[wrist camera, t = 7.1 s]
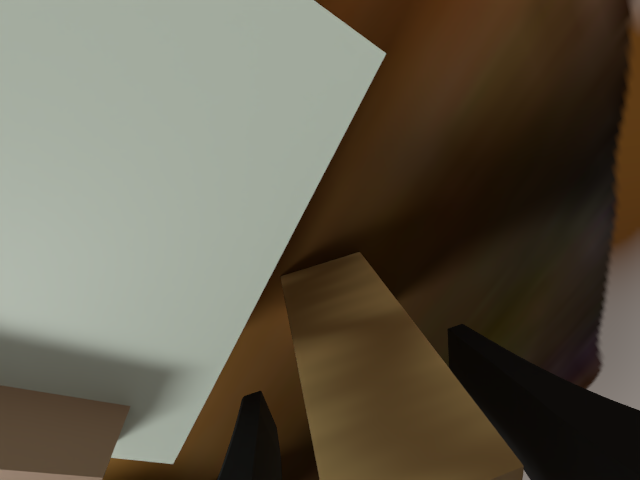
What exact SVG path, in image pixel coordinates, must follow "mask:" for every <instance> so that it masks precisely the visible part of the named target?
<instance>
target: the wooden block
mask: <svg viewBox="0 0 640 480" xmlns="http://www.w3.org/2000/svg"><path fill="white" fill-rule="evenodd" d="M280 278H281V283H282V288H283V293H284V298H285V303H286V309H287V314H288V319H289V324H290V329H291V334H292V339H293V345H294V350H295V355H296V360H297V365H298V370H299V376H300V381H301V386H302V391H303V396H304V401H305V406H306V412H307V417H308V422H309V427H310V432H311V437H312V442H313V448H314V453H315V458H316V463H317V468H318V473H319V479H320V480H522V477H523V469H524V466H523V464H522V463H521V462H520V460H519V459H518V458H517V457H516V455H515V454H514V453H513V451H512V450H511V449H510V447H509V446H508V445H507V443H506V442H505V441H504V440H503V438H502V437H501V436H500V434H499V433H498V432H497V430H496V429H495V428H494V426H493V425H492V424H491V423H490V421H489V420H488V419H487V417H486V416H485V415H484V413H483V412H482V411H481V409H480V408H479V407H478V406H477V404H476V403H475V402H474V400H473V399H472V398H471V396H470V395H469V394H468V393H467V391H466V390H465V389H464V387H463V386H462V385H461V383H460V382H459V381H458V379H457V378H456V377H455V376H454V374H453V373H452V372H451V370H450V369H449V368H448V366H447V365H446V364H445V362H444V361H443V360H442V359H441V357H440V356H439V355H438V353H437V352H436V351H435V349H434V348H433V347H432V345H431V344H430V343H429V342H428V340H427V339H426V338H425V336H424V335H423V334H422V332H421V331H420V330H419V328H418V327H417V326H416V325H415V323H414V322H413V321H412V319H411V318H410V317H409V315H408V314H407V313H406V311H405V310H404V309H403V308H402V306H401V305H400V304H399V302H398V301H397V300H396V298H395V297H394V296H393V294H392V293H391V292H390V291H389V289H388V288H387V287H386V285H385V284H384V283H383V281H382V280H381V279H380V277H379V276H378V275H377V274H376V272H375V271H374V270H373V268H372V267H371V266H370V264H369V263H368V262H367V260H366V259H365V258H364V257H363V255H362V254H361V253H360V252H357V253H354V254H351V255H348V256H345V257H341V258H338V259H335V260H332V261H328V262H325V263H322V264H319V265H315V266H312V267H309V268H306V269H303V270H299V271H296V272H293V273H290V274H286V275H283V276H280Z"/></svg>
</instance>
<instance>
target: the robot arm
mask: <svg viewBox="0 0 640 480" xmlns="http://www.w3.org/2000/svg"><path fill="white" fill-rule="evenodd" d="M448 350H449V368H450V370H451V371H452V373H453V374H454V376H455V377H456V378H457V379H458V381H459V382H460V383H461V385H462V386H463V387H464V389H465V390H466V391H467V393H468V394H469V395H470V396H471V398H472V399H473V400H474V402H475V403H476V404H477V406H478V407H479V408H480V409H481V411H482V412H483V413H484V415H485V416H486V417H487V419H488V420H489V421H490V423H491V424H492V425H493V426H494V428H495V429H496V430H497V432H498V433H499V434H500V436H501V437H502V438H503V440H504V441H505V442H506V443H507V445H508V446H509V447H510V449H511V450H512V451H513V453H514V454H515V455H516V457H517V458H518V459H519V460H520V462H521V463H522V464H523V466H524V470H525V472H526V474H527V475H528V476H529V478H530V479H531V480H640V411H639V410H637V409H634V408H631V407H628V406H626V405H623V404H620V403H618V402H615V401H613V400H610V399H608V398H605V397H603V396H600V395H598V394H596V393H593V392H591V391H589V390H587V389H584V388H582V387H580V386H577V385H575V384H573V383H571V382H568V381H566V380H564V379H562V378H560V377H558V376H556V375H554V374H552V373H550V372H548V371H546V370H544V369H542V368H540V367H538V366H536V365H534V364H532V363H530V362H528V361H526V360H525V359H523V358H521V357H519V356H517V355H515V354H514V353H512V352H510V351H508V350H506V349H505V348H503V347H501V346H499V345H498V344H496V343H494V342H493V341H491V340H489V339H487V338H486V337H484V336H482V335H481V334H479V333H477V332H475V331H474V330H472V329H470V328H469V327H467V326H465V325H463V324H461V325H458V326H455V327H452V328H449V329H448ZM217 480H282V470H281V455H280V448H279V441H278V434H277V427H276V425H275V422H274V420H273V418H272V415H271V413H270V411H269V408H268V406H267V404H266V401H265V399H264V397H263V394H262V392H261V391H258V392H255V393H252V394H249V395H246V396H244V397H243V399H242V402H241V406H240V410H239V414H238V417H237V421H236V425H235V428H234V431H233V435H232V438H231V441H230V444H229V447H228V450H227V453H226V456H225V459H224V463H223V465H222V468H221V471H220V474H219V476H218V479H217Z"/></svg>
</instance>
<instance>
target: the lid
mask: <svg viewBox="0 0 640 480" xmlns="http://www.w3.org/2000/svg"><path fill="white" fill-rule="evenodd" d="M385 55H386V53H385V52H384V51H382V50H381V49H379V48H378V47H377V46H375V45H374V44H373V43H371V42H370V41H369V40H367V39H366V38H365V37H363V36H362V35H360V34H359V33H358V32H356V31H355V30H354V29H352V28H351V27H350V26H348V25H347V24H345V23H344V22H343V21H341V20H340V19H339V18H337V17H336V16H335V15H333V14H332V13H330V12H329V11H328V10H326V9H325V8H324V7H322V6H321V5H320V4H318V3H317V2H316V1H314V0H0V480H102V479H103V476H104V474H105V471H106V469H107V466H108V463H109V461H110V458H120V459H129V460H139V461H149V462H158V463H168V464H173V463H174V461H175V459H176V457H177V455H178V454H179V452H180V450H181V448H182V446H183V444H184V442H185V440H186V438H187V436H188V434H189V432H190V430H191V429H192V427H193V425H194V423H195V421H196V419H197V417H198V415H199V413H200V411H201V409H202V407H203V405H204V403H205V402H206V400H207V398H208V396H209V394H210V392H211V390H212V388H213V386H214V384H215V382H216V380H217V378H218V377H219V375H220V373H221V371H222V369H223V367H224V365H225V363H226V361H227V359H228V357H229V355H230V353H231V352H232V350H233V348H234V346H235V344H236V342H237V340H238V338H239V336H240V334H241V332H242V330H243V328H244V326H245V325H246V323H247V321H248V319H249V317H250V315H251V313H252V311H253V309H254V307H255V305H256V303H257V301H258V300H259V298H260V296H261V294H262V292H263V290H264V288H265V286H266V284H267V282H268V280H269V278H270V276H271V275H272V273H273V271H274V269H275V267H276V265H277V263H278V261H279V259H280V257H281V255H282V253H283V251H284V249H285V248H286V246H287V244H288V242H289V240H290V238H291V236H292V234H293V232H294V230H295V228H296V226H297V224H298V223H299V221H300V219H301V217H302V215H303V213H304V211H305V209H306V207H307V205H308V203H309V201H310V199H311V197H312V196H313V194H314V192H315V190H316V188H317V186H318V184H319V182H320V180H321V178H322V176H323V174H324V172H325V171H326V169H327V167H328V165H329V163H330V161H331V159H332V157H333V155H334V153H335V151H336V149H337V147H338V146H339V144H340V142H341V140H342V138H343V136H344V134H345V132H346V130H347V128H348V126H349V124H350V122H351V120H352V119H353V117H354V115H355V113H356V111H357V109H358V107H359V105H360V103H361V101H362V99H363V97H364V95H365V94H366V92H367V90H368V88H369V86H370V84H371V82H372V80H373V78H374V76H375V74H376V72H377V70H378V69H379V67H380V65H381V63H382V61H383V59H384V57H385Z"/></svg>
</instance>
